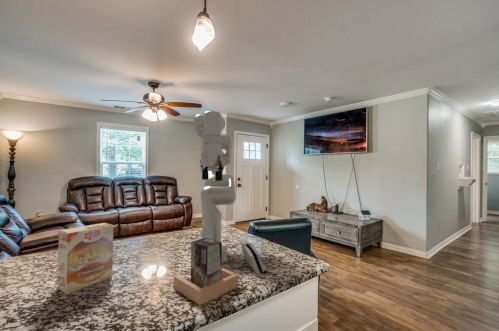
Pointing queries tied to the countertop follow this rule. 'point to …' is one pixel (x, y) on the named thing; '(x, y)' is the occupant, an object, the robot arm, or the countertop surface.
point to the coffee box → (206, 262)
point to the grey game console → (253, 258)
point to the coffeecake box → (84, 256)
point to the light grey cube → (224, 254)
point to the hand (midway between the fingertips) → (211, 180)
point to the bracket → (206, 287)
